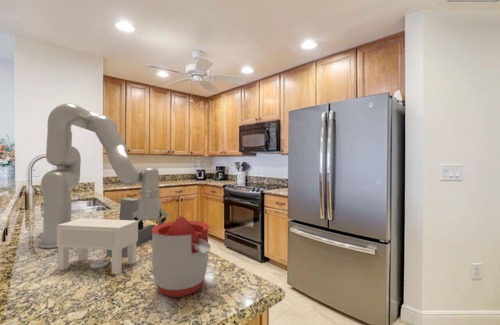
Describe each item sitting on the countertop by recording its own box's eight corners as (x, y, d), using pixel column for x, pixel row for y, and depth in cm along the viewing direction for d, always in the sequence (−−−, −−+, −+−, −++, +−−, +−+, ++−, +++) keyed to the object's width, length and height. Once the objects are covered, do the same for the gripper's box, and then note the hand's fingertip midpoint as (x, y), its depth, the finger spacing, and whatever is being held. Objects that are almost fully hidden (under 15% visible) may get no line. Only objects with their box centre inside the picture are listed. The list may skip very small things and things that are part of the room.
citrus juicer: (183, 311, 59) (184, 226, 59) (138, 291, 68) (138, 217, 68) (224, 284, 72) (225, 215, 72) (182, 270, 82) (182, 208, 82)
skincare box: (118, 229, 132) (118, 199, 132) (129, 226, 138) (129, 197, 138) (130, 231, 128) (130, 199, 128) (141, 227, 135) (141, 198, 135)
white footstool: (55, 270, 81) (55, 225, 81) (81, 258, 92) (81, 218, 92) (118, 275, 78) (118, 228, 78) (137, 262, 88) (137, 220, 88)
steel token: (86, 269, 83) (86, 264, 83) (97, 263, 88) (97, 259, 88) (100, 270, 82) (100, 265, 82) (110, 264, 87) (110, 259, 87)
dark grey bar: (106, 255, 94) (106, 241, 95) (145, 235, 120) (145, 224, 120) (126, 257, 93) (126, 242, 93) (160, 236, 119) (160, 225, 119)
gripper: (127, 195, 114) (128, 233, 114) (163, 195, 112) (164, 234, 112) (137, 193, 122) (138, 228, 122) (171, 193, 119) (171, 229, 119)
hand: (150, 231), depth 117 cm, fingers open, 9 cm apart
